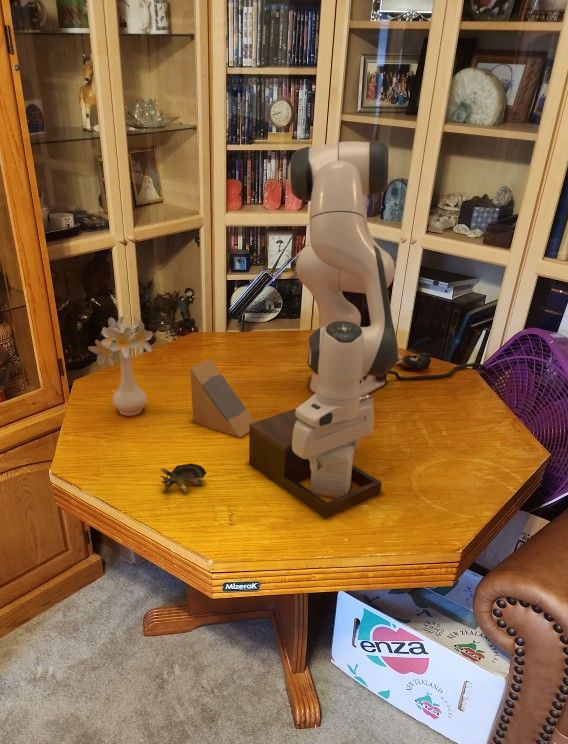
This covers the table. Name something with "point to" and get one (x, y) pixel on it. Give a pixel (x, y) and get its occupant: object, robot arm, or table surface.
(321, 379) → the robot arm
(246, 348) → the table surface
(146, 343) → the flower vase
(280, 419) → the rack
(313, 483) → the small box
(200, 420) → the sandwich container
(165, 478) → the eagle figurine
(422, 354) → the toy figure
